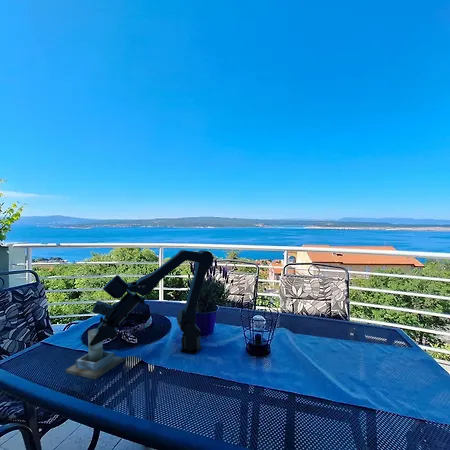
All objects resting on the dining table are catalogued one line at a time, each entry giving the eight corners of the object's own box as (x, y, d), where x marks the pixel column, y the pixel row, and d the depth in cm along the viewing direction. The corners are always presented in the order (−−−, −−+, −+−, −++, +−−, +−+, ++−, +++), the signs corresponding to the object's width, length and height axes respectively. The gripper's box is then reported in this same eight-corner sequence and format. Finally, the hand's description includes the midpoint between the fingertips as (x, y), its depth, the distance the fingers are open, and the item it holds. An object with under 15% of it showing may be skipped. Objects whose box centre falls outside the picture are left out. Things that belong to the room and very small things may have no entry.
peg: (104, 357, 98) (104, 328, 98) (100, 363, 93) (99, 332, 93) (91, 358, 97) (91, 328, 97) (86, 364, 93) (85, 333, 93)
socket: (123, 360, 99) (123, 350, 99) (95, 379, 87) (95, 368, 87) (96, 355, 104) (95, 346, 104) (65, 372, 91) (65, 362, 91)
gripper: (108, 287, 106) (76, 319, 102) (105, 299, 88) (66, 339, 84) (130, 305, 108) (100, 337, 104) (131, 320, 91) (95, 359, 87)
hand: (91, 342), depth 95 cm, fingers closed on peg, 4 cm apart
